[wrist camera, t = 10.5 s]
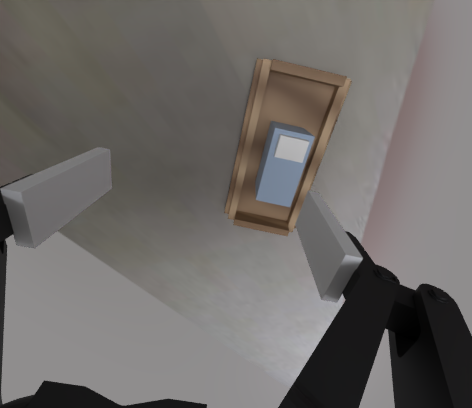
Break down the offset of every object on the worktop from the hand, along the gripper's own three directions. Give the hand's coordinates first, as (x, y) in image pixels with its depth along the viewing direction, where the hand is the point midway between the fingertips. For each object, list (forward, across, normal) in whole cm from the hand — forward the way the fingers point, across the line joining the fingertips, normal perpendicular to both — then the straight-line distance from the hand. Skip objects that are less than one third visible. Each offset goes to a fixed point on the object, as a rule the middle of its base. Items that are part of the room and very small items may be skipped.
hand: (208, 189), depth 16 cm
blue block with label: (+19, +8, -2) cm, 20 cm away
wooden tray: (+20, +8, -1) cm, 22 cm away
